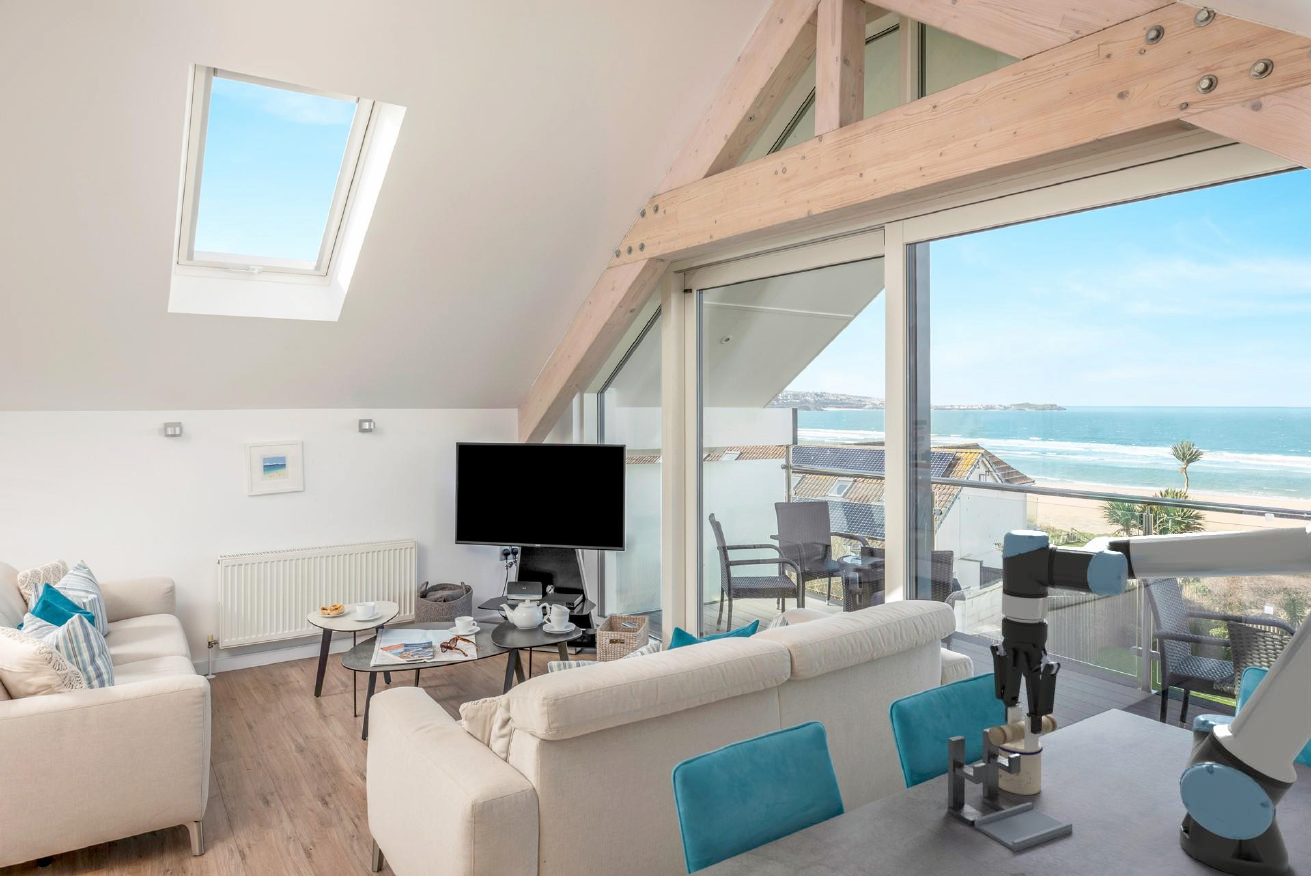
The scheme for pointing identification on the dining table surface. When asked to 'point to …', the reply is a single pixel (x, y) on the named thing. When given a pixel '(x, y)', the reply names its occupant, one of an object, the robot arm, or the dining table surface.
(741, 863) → the dining table surface
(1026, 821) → the tray
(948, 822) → the dining table surface
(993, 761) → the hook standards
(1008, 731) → the wooden cylinder
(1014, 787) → the teacup with lid
